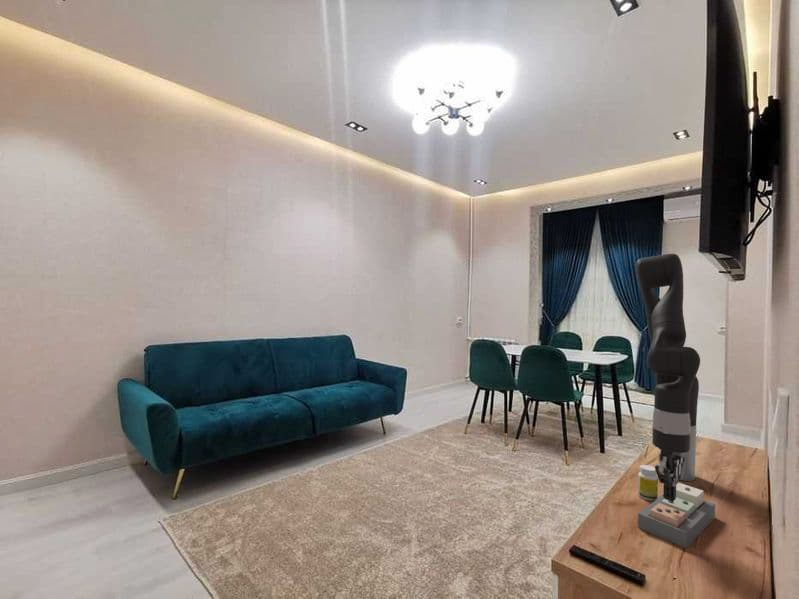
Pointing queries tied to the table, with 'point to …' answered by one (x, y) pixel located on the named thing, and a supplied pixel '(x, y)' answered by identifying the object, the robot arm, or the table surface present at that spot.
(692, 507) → the tile two
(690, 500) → the tile one
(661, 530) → the well board
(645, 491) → the supplement bottle
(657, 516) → the tile three
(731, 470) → the table surface
